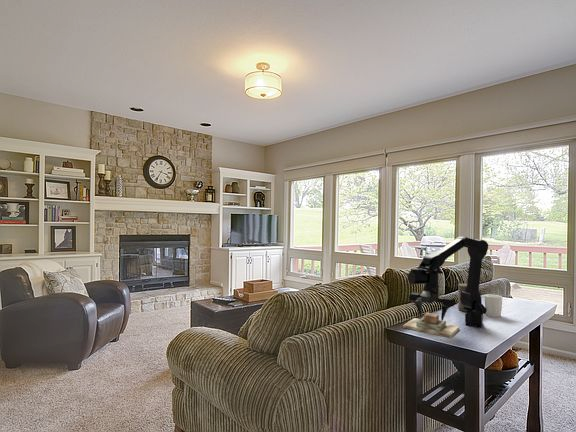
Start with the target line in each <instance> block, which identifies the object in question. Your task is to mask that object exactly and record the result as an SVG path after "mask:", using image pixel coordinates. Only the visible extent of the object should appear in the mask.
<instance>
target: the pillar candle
mask: <svg viewBox="0 0 576 432" xmlns="http://www.w3.org/2000/svg"><path fill="white" fill-rule="evenodd" d="M466 288H467V283H458V293H457V294H458V302H457V303H458V311H461V312H463V313H464V312H465V313H466V312H467V310H464V308H463V305H462V304H461V300H460V297H461V291H463V292H464V291H465V290H466Z"/></svg>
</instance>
